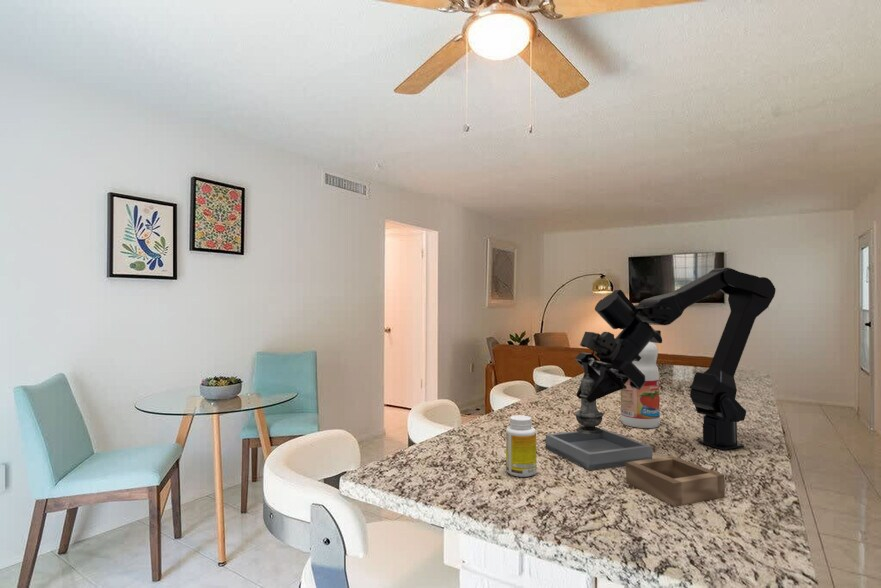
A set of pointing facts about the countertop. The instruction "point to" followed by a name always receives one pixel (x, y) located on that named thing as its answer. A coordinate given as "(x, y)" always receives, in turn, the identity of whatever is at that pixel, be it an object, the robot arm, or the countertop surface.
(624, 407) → the fruit juice
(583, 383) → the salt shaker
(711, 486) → the walnut collar
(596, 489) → the countertop surface
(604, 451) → the charcoal tray
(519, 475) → the supplement bottle
